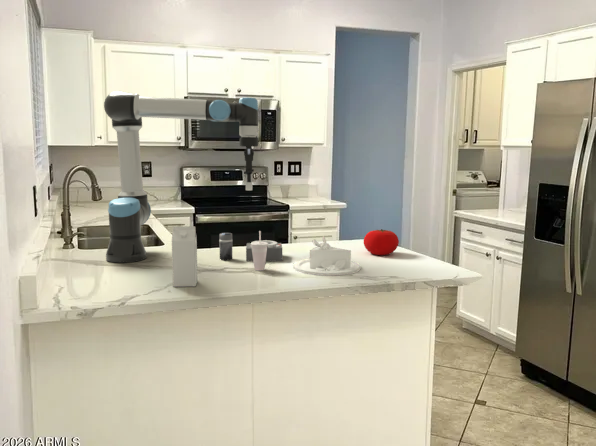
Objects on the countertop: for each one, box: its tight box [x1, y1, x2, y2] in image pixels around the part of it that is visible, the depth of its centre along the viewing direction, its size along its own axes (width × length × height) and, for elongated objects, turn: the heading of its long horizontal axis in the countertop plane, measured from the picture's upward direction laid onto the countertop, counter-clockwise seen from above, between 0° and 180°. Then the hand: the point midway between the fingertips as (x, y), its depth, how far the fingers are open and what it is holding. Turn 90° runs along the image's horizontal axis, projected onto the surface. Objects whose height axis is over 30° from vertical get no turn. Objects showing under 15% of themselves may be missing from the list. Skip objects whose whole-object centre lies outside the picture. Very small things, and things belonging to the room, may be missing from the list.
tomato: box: [363, 229, 400, 256], centre depth 230 cm, size 14×13×10 cm
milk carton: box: [171, 225, 198, 288], centre depth 180 cm, size 7×7×19 cm
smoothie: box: [251, 230, 268, 272], centre depth 201 cm, size 6×6×14 cm
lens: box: [218, 232, 234, 261], centre depth 219 cm, size 5×5×10 cm
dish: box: [292, 235, 361, 277], centre depth 205 cm, size 25×25×11 cm
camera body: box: [245, 239, 283, 262], centre depth 221 cm, size 14×11×6 cm
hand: (249, 188), depth 229 cm, fingers open, 13 cm apart
